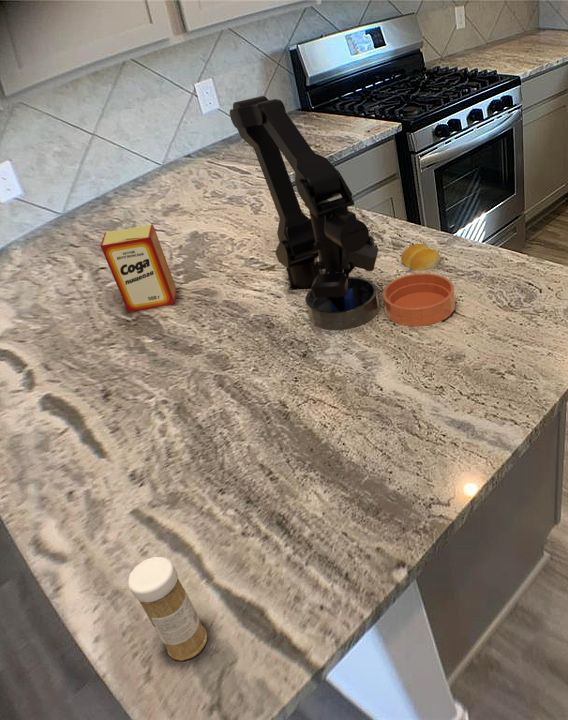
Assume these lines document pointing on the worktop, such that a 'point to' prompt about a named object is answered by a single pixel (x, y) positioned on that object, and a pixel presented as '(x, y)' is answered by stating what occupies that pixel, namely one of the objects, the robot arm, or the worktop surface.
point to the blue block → (346, 301)
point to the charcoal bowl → (345, 319)
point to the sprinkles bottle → (168, 607)
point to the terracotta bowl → (419, 299)
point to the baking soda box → (139, 267)
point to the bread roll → (420, 257)
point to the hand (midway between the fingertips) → (343, 304)
